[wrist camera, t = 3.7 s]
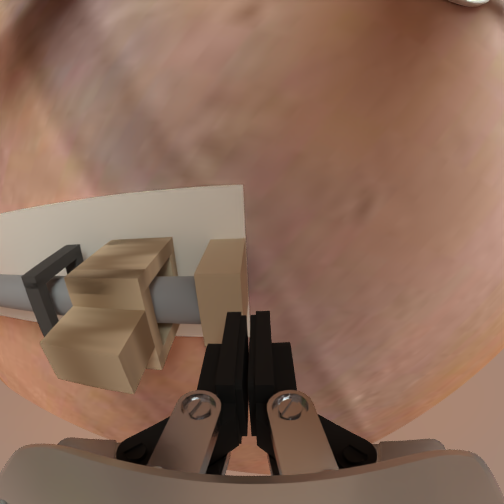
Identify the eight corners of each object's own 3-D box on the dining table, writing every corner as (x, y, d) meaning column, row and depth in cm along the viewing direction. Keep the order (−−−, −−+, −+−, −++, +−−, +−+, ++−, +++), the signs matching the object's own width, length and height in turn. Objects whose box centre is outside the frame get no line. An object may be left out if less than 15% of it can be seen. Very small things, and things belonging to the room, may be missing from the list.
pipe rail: (243, 184, 16) (235, 203, 11) (250, 331, 20) (247, 388, 15) (-42, 223, 17) (-76, 241, 12) (-16, 308, 21) (-43, 333, 16)
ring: (79, 244, 16) (34, 276, 11) (97, 309, 17) (63, 352, 13) (66, 244, 16) (21, 276, 11) (84, 308, 18) (50, 349, 13)
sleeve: (172, 236, 16) (105, 320, 8) (184, 313, 17) (145, 416, 10) (111, 239, 16) (26, 311, 8) (127, 311, 18) (71, 400, 10)
